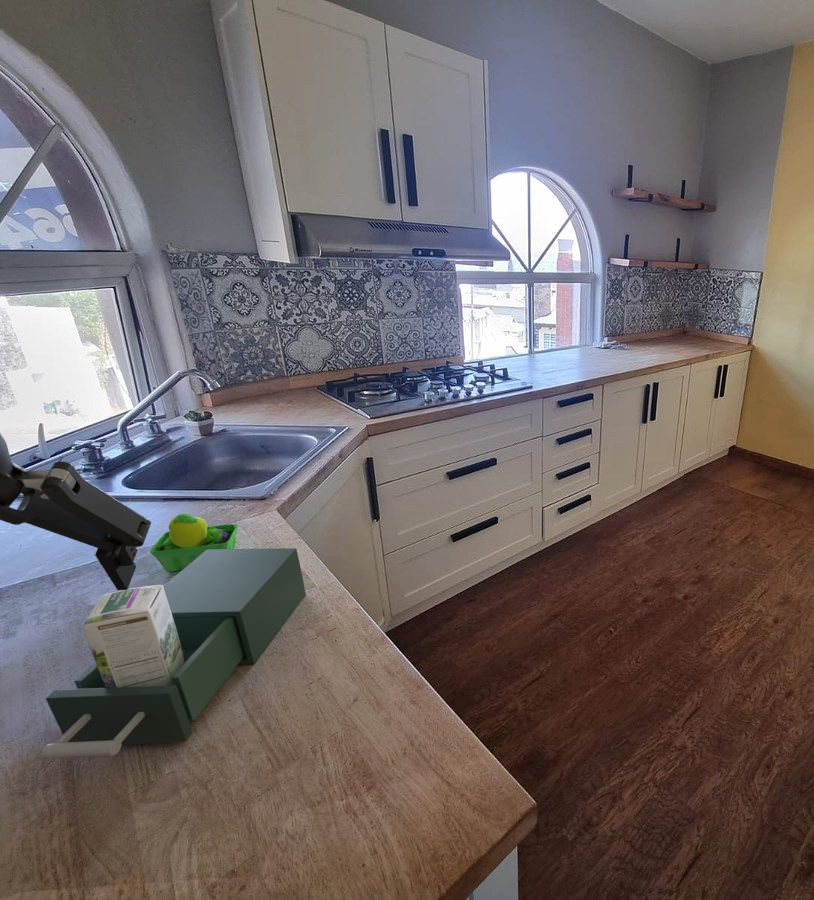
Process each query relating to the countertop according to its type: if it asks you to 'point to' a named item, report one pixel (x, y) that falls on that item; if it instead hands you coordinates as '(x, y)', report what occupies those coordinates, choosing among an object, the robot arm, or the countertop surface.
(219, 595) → the green drawer cabinet
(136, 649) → the syrup box
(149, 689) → the green drawer
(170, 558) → the fruit basket
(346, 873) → the countertop surface
